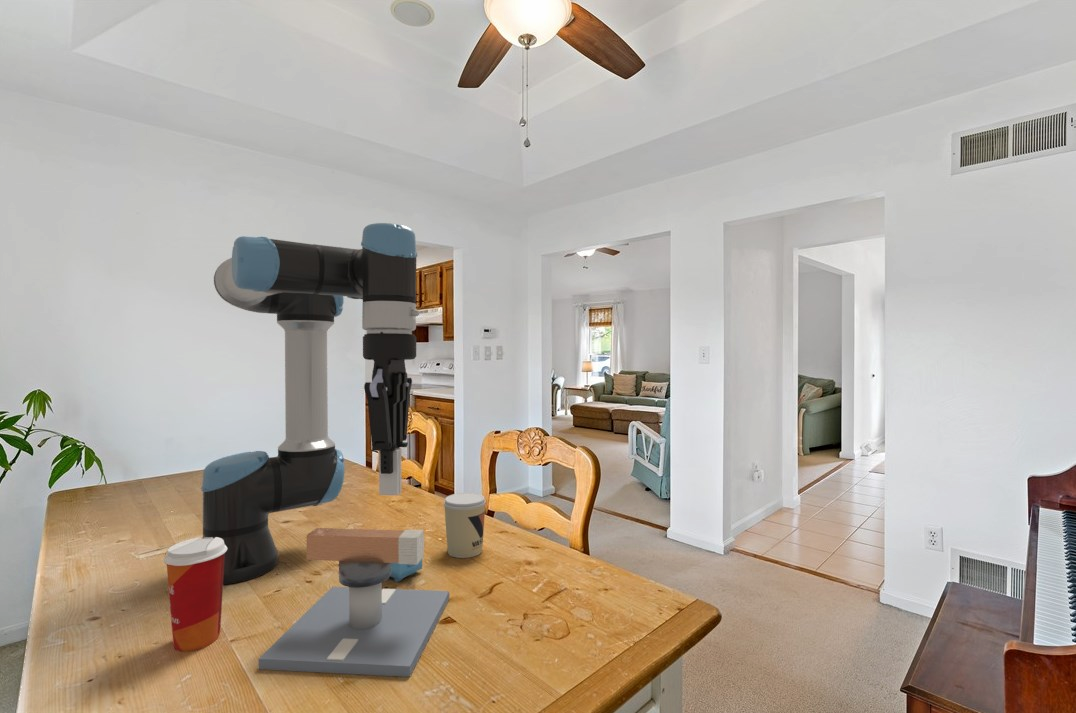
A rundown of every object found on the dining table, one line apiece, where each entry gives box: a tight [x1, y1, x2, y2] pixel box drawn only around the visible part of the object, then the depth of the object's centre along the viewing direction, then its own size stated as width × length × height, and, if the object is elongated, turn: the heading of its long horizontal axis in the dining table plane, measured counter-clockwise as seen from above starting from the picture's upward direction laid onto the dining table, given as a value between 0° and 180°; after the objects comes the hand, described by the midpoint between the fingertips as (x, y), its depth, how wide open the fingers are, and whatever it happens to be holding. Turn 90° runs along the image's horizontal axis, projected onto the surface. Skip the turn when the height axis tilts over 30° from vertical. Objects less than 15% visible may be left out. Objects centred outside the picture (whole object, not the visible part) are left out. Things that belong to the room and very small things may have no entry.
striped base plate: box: [258, 582, 450, 678], centre depth 82 cm, size 22×22×8 cm
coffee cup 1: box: [163, 537, 227, 652], centre depth 79 cm, size 8×8×15 cm
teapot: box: [389, 558, 423, 582], centre depth 102 cm, size 12×6×8 cm, turn 58°
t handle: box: [306, 527, 425, 588], centre depth 82 cm, size 18×8×7 cm, turn 86°
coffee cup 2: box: [443, 492, 487, 559], centre depth 115 cm, size 9×9×12 cm
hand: (390, 493), depth 75 cm, fingers closed
